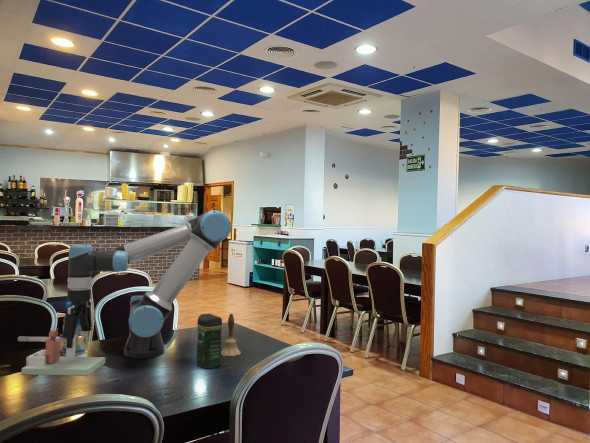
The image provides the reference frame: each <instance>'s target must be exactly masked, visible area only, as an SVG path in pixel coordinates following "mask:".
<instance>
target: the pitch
mask: <svg viewBox="0 0 590 443" xmlns="http://www.w3.org/2000/svg"><path fill="white" fill-rule="evenodd" d="M44 350H45V351H46V349H41V350H39V351H37V352H35V353H32V354H30V355H28V356H26V359H25V360H26V361H25V366H24V367H21V374H20V375H30V376H31V375H34V376H35V375H37V376H38V375H39V376H82V377H83V376H85V377H87V376H89V375H90V374H92V373H93V372H95V371H96V370H97V369H99V368H100V367H102V366H103V365H104V364H106V357H105V356H103V357H101V356H99V357H98V356H75V357H66V355H63V356H61V355H60V359H59V360H57V361H55V362H53V363H46V357H37V355H38V353H39V352H41V351H44Z"/></svg>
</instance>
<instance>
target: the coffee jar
mask: <svg viewBox="0 0 590 443" xmlns="http://www.w3.org/2000/svg"><path fill="white" fill-rule="evenodd" d="M196 325H197V343H196V345H197V346H196V358H195V360H196V362H195V363H196V364H197V365H198V366H199V367H201V368H204V369H207V368H208V369H215V368H217V367H219V366H221V364H222V355H221V351H222V329H223V318H222V317H221V316H217V315H214V314H213V313H203V314H200V315H199V316H198V317H197V323H196Z"/></svg>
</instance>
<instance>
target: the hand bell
mask: <svg viewBox="0 0 590 443" xmlns="http://www.w3.org/2000/svg"><path fill="white" fill-rule="evenodd" d="M234 326H235V317H234V314H233V313H229V316H228V319H227V327H228V338H227V339H225V341H224V346H223V349H221V357H222V356H223V357H231V356H232V357H237V355H238V356H240V355H241V354H242V352H241V350H239V348H238V344H237V340H236V339H235V338H234Z"/></svg>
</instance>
